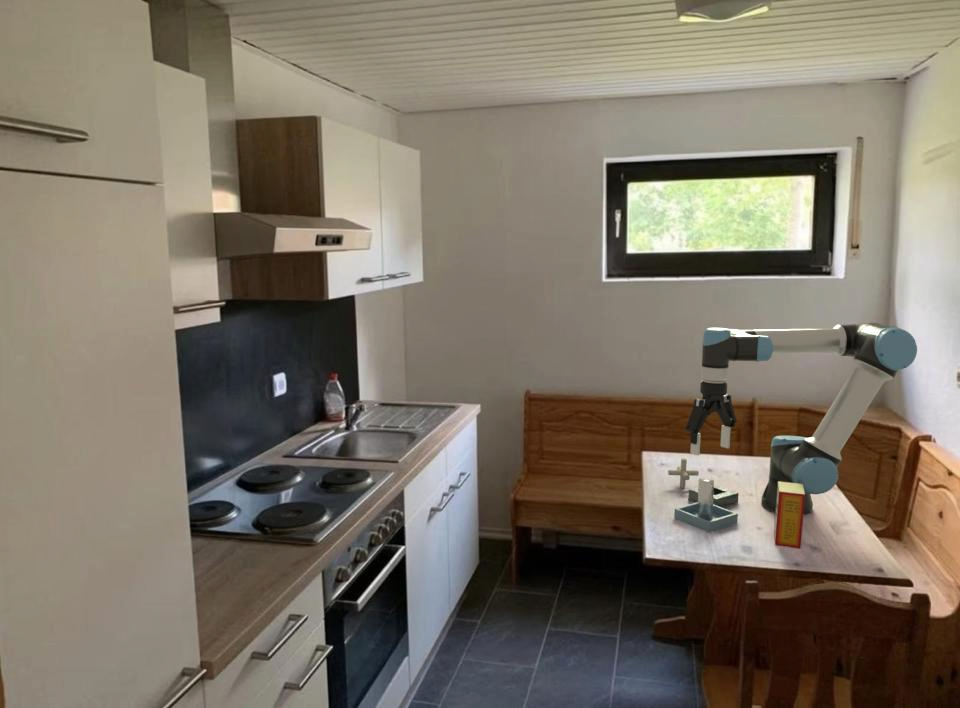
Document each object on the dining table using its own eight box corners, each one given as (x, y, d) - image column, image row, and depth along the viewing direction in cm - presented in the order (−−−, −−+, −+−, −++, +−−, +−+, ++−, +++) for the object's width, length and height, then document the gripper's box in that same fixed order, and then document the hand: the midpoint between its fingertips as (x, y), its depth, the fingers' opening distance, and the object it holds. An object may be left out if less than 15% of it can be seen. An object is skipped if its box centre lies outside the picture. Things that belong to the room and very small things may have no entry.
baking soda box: (773, 532, 211) (778, 479, 208) (798, 535, 209) (802, 482, 206) (775, 545, 202) (779, 490, 200) (800, 548, 200) (805, 493, 197)
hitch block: (737, 503, 235) (738, 492, 234) (715, 509, 229) (716, 499, 228) (710, 493, 244) (710, 483, 243) (688, 499, 238) (688, 489, 237)
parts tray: (737, 523, 217) (738, 513, 217) (708, 532, 210) (709, 522, 210) (702, 510, 228) (702, 500, 227) (674, 518, 221) (674, 508, 220)
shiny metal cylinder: (715, 519, 218) (717, 480, 217) (706, 522, 216) (707, 483, 214) (703, 514, 222) (704, 477, 220) (694, 517, 219) (695, 479, 218)
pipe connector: (701, 492, 245) (702, 463, 243) (671, 491, 245) (673, 463, 243) (693, 482, 255) (694, 454, 253) (664, 481, 255) (666, 454, 253)
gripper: (730, 374, 222) (726, 441, 226) (675, 383, 209) (671, 454, 212) (751, 378, 216) (747, 447, 219) (695, 387, 202) (692, 460, 206)
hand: (710, 450), depth 216 cm, fingers open, 13 cm apart
